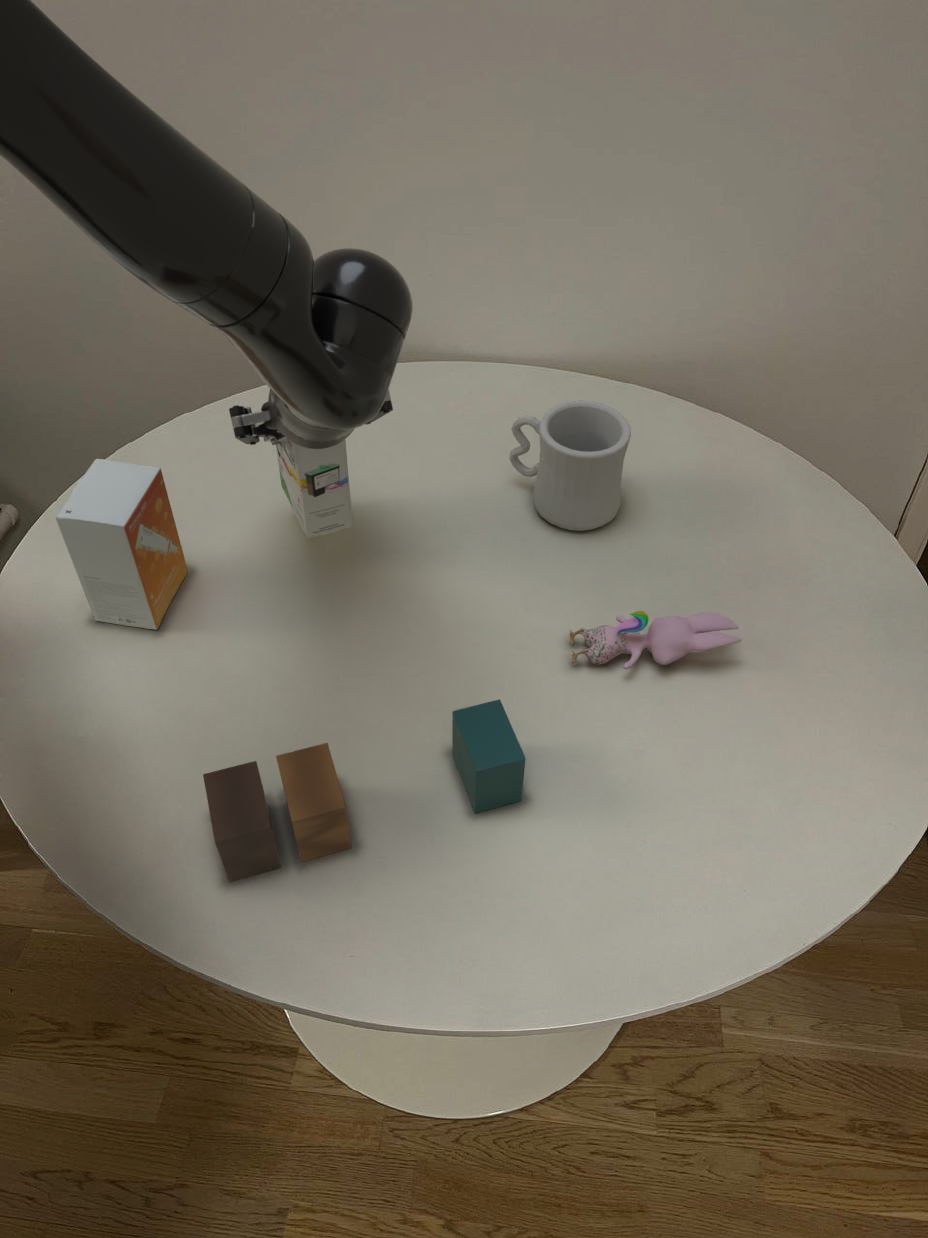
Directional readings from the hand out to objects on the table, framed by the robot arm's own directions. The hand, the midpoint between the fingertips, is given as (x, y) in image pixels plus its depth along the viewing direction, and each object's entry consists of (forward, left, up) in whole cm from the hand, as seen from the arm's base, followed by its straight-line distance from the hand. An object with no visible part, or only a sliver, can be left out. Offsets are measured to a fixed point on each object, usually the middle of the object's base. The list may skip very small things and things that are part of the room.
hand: (304, 427), depth 94 cm
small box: (-18, -6, -12) cm, 22 cm away
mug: (+25, -5, -12) cm, 28 cm away
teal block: (+7, -35, -12) cm, 37 cm away
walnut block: (-13, -35, -12) cm, 39 cm away
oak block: (-7, -35, -12) cm, 37 cm away
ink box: (0, -2, -8) cm, 9 cm away
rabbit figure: (+25, -27, -12) cm, 38 cm away
